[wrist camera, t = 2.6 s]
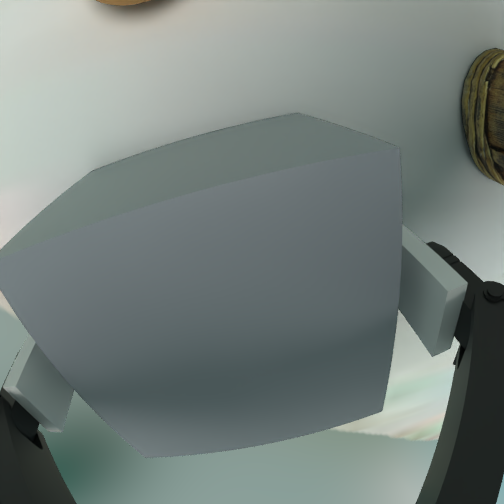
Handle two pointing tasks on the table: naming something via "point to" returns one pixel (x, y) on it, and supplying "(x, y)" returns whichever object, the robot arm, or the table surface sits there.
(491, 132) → the wooden mug
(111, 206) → the matte grey cube
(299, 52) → the table surface
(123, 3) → the ball
